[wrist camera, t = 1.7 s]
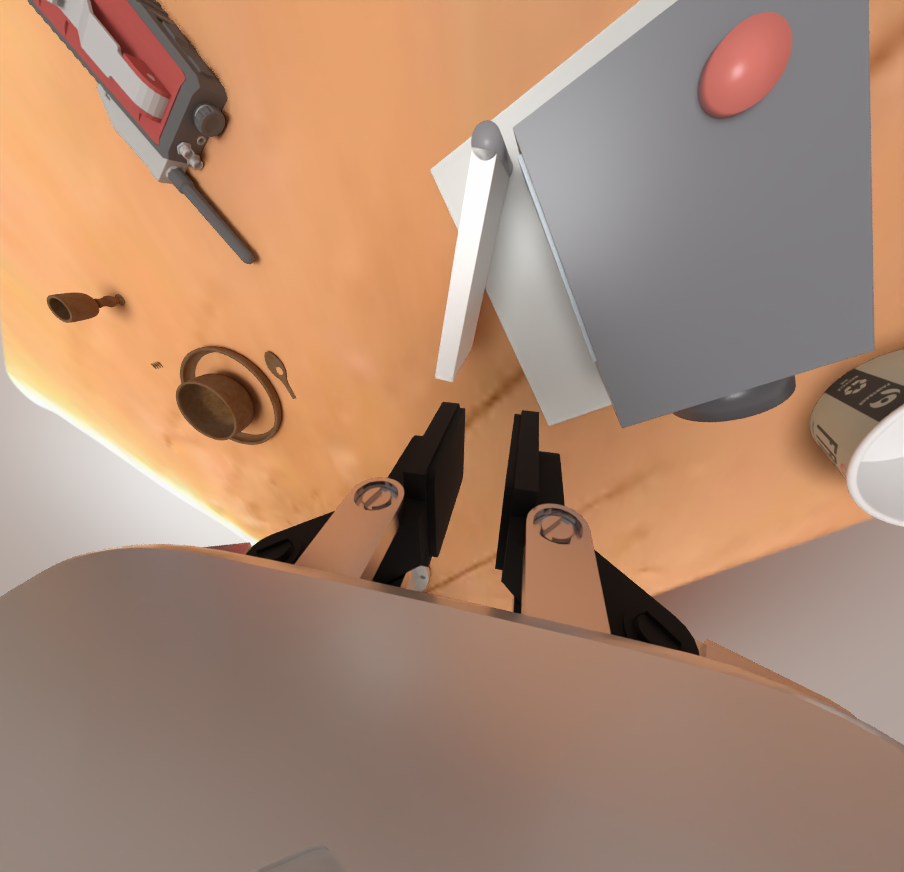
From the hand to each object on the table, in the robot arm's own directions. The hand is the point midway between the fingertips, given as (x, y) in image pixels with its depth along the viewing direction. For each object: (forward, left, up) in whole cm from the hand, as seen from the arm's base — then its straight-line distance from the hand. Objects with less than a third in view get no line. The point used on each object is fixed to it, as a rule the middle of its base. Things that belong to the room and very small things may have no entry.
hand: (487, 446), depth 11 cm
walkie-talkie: (+25, +16, -20) cm, 36 cm away
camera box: (+1, -10, -19) cm, 22 cm away
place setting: (+11, +31, -20) cm, 39 cm away
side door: (+5, +1, -18) cm, 19 cm away
